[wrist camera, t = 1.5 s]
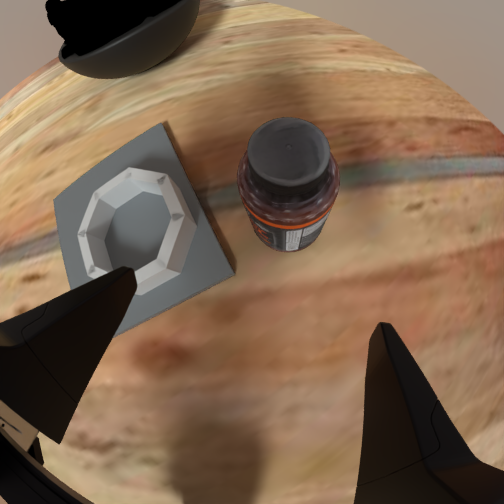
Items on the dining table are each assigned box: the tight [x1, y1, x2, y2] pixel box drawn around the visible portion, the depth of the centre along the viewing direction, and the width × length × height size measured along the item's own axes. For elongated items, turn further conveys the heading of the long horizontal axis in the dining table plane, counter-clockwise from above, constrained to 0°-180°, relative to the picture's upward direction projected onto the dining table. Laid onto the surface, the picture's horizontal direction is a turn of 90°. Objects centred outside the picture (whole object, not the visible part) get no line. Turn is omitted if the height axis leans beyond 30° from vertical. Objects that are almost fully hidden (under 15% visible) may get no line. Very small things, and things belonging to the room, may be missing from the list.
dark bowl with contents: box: [45, 0, 200, 79], centre depth 22 cm, size 20×20×19 cm
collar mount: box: [54, 123, 235, 338], centre depth 23 cm, size 18×16×4 cm
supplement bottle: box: [237, 117, 340, 252], centre depth 18 cm, size 6×6×11 cm
